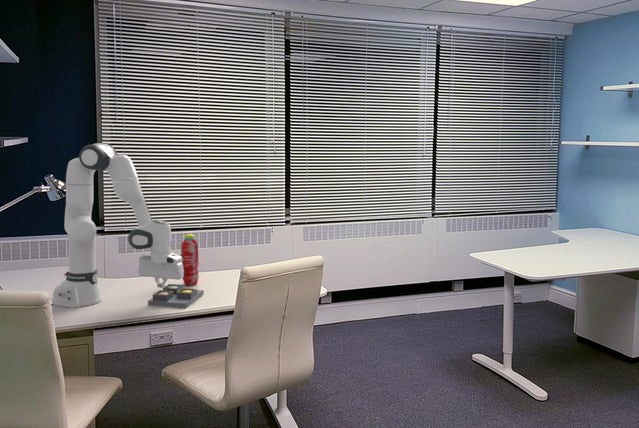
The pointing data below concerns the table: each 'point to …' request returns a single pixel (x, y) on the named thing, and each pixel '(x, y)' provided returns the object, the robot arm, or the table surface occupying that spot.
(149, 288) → the table surface
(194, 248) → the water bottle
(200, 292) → the button panel
